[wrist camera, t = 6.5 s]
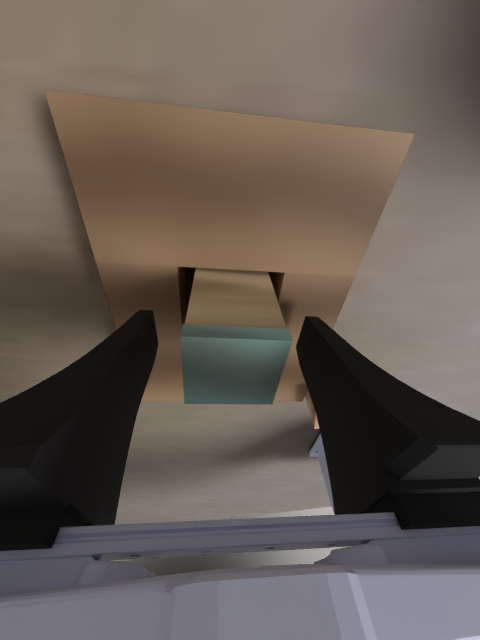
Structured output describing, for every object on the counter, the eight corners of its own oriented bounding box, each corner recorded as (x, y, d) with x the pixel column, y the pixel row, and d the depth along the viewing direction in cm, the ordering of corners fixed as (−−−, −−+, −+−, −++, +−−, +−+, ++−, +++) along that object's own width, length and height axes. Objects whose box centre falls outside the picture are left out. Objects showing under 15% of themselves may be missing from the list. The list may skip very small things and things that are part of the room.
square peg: (254, 307, 16) (272, 404, 10) (198, 303, 15) (184, 403, 10) (263, 254, 13) (293, 340, 8) (198, 249, 13) (180, 336, 7)
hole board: (294, 375, 20) (302, 401, 18) (146, 373, 19) (137, 401, 17) (378, 133, 10) (414, 134, 8) (82, 99, 9) (44, 89, 7)
